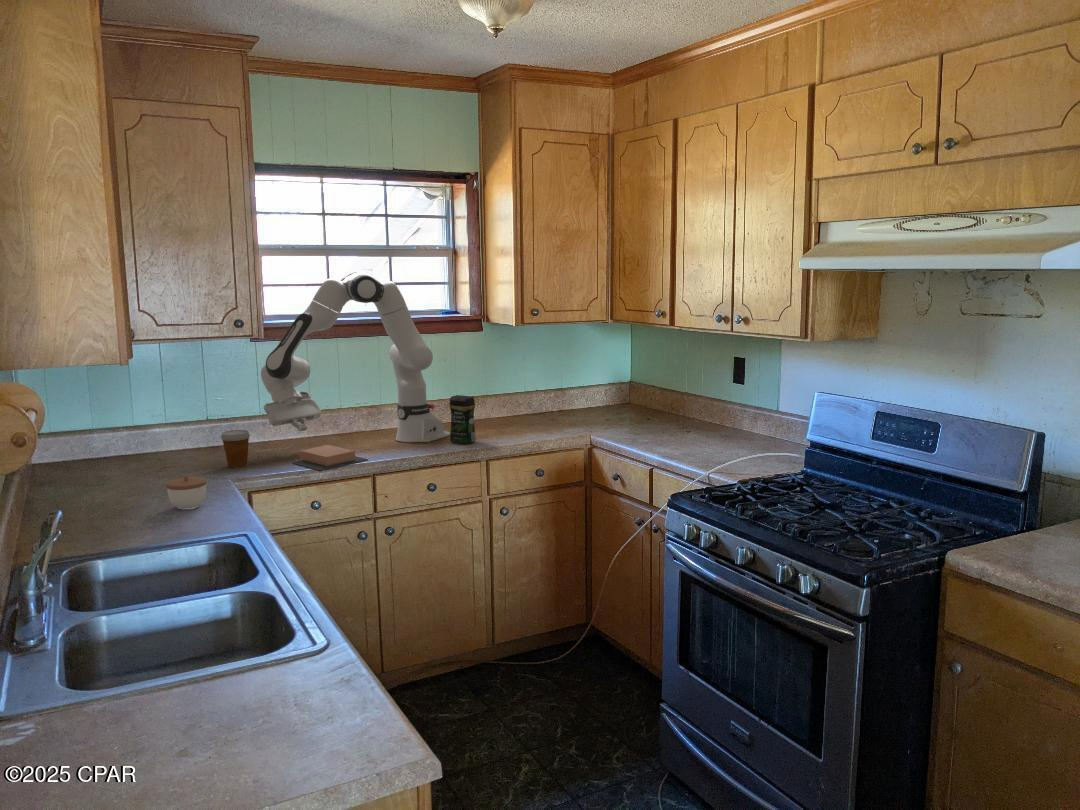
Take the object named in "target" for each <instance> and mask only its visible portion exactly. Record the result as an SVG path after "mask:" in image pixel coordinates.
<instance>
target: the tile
mask: <svg viewBox="0 0 1080 810" xmlns="http://www.w3.org/2000/svg"><path fill="white" fill-rule="evenodd" d="M355 456H356V452H355V450H352V449H348V448H343V447H338V446H335V445H330V444H326V445H325V444H324V445H321V446H316V447H311V448H306V449H300V450H299V459H300V460H305V461H309V462H313V463H317V464H321V465H324V466H330V465H335V464H339V463H343V462H348V461H352V460H354V459H355Z"/></svg>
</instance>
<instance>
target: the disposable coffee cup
mask: <svg viewBox="0 0 1080 810" xmlns="http://www.w3.org/2000/svg"><path fill="white" fill-rule="evenodd" d="M250 436H251V434H250V432H249V430H246V429H233V430H232V429H231V430H225V431H222V433H221V436H220V438H221V440H222V443H223V448H224V454H225V457H226V463H227V467H228V468H230V467H241V468H243V467H242V466H245V467H247V466H248V458H249V457H248V456H249V439H250ZM246 465H247V466H246Z"/></svg>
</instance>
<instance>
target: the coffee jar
mask: <svg viewBox="0 0 1080 810" xmlns="http://www.w3.org/2000/svg"><path fill="white" fill-rule="evenodd" d="M448 404H449V409H450V419H451V420H450V432H449V433H450V436H449V439H450V440H449V441H450V442H451V443H453V444H457V443H458V445H468V444H469V443H471V444H474V443H475V442H476V429H475V414H474V413H475V407H476V402H475V398H474V396H470V395H469V396H468V395H463V394H462V395H460V394H459V395H458V394H457V395H453V396H451V397H450V399H449V403H448ZM473 442H474V443H473Z"/></svg>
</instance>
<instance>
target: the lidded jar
mask: <svg viewBox="0 0 1080 810" xmlns="http://www.w3.org/2000/svg"><path fill="white" fill-rule="evenodd" d="M165 487H166V491H167V493H166V494H167V496H168V500H169V502H170V503H171V504H172V506H174V507H175V508H176V509H177V508H181V509H183V508H192V507H196V506H199V505H200V506H201V505H202V503H203V502H204V500H205V499H206V495H207V479H206V478H205V477H202V476H201V477H200V476H188V475H183V477H179V478H174V479H170V480H169V481H167V482H166V483H165ZM200 506H199V507H200Z"/></svg>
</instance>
